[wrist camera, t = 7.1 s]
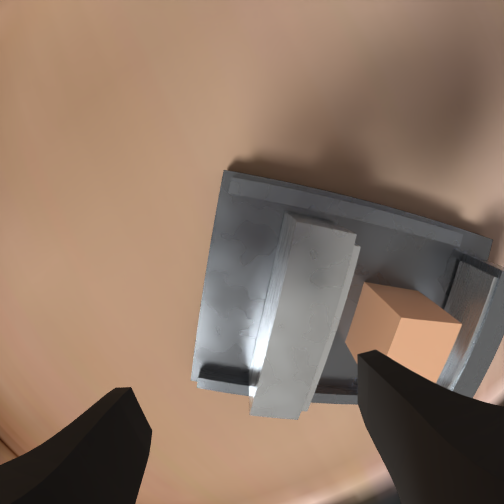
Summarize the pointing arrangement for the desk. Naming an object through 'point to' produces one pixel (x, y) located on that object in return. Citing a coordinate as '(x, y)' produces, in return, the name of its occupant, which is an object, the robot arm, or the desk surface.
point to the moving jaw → (300, 314)
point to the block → (403, 329)
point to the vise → (367, 270)
